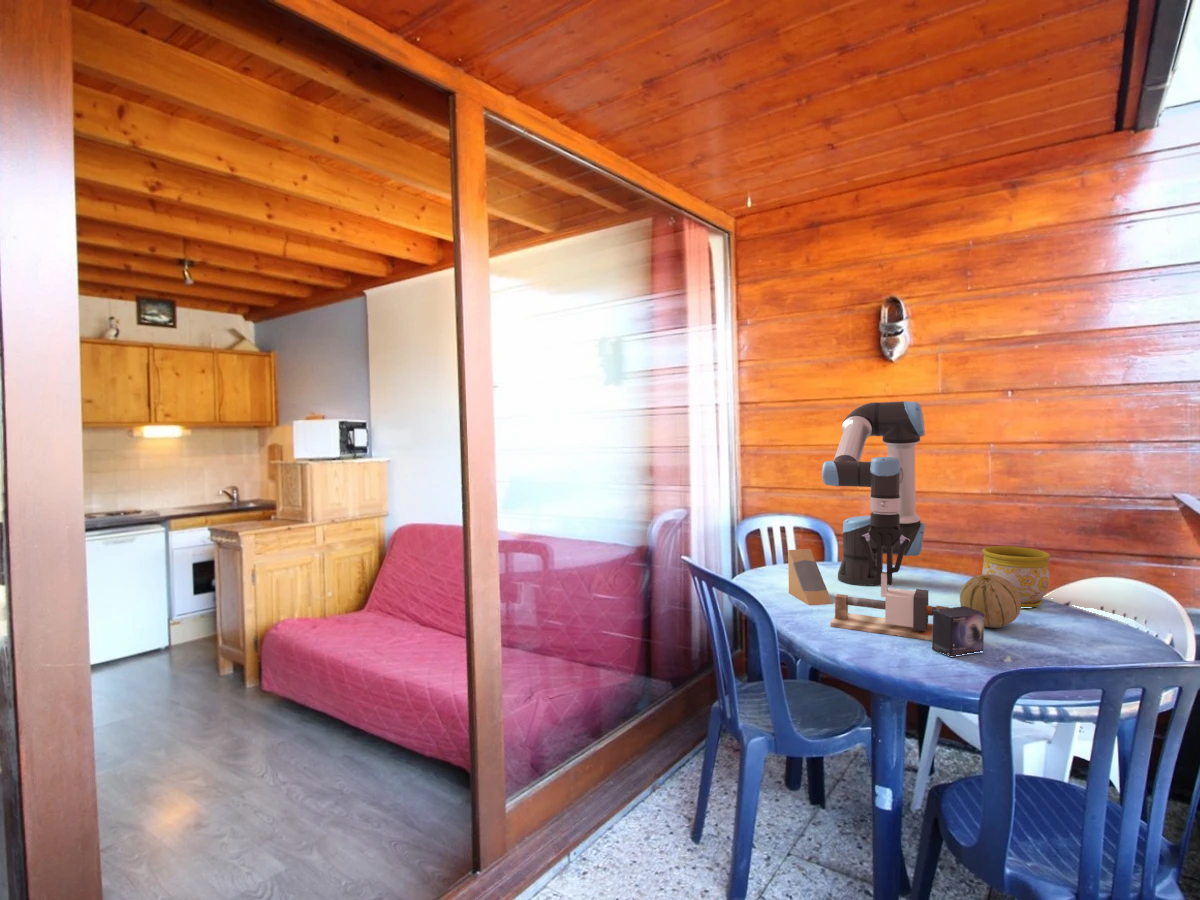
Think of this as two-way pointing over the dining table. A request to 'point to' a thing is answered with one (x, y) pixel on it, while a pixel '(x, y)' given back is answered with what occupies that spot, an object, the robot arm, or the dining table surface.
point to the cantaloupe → (992, 599)
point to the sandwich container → (806, 578)
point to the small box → (958, 630)
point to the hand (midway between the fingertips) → (884, 595)
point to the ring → (920, 610)
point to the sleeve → (899, 607)
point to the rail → (874, 619)
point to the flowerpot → (1020, 570)
